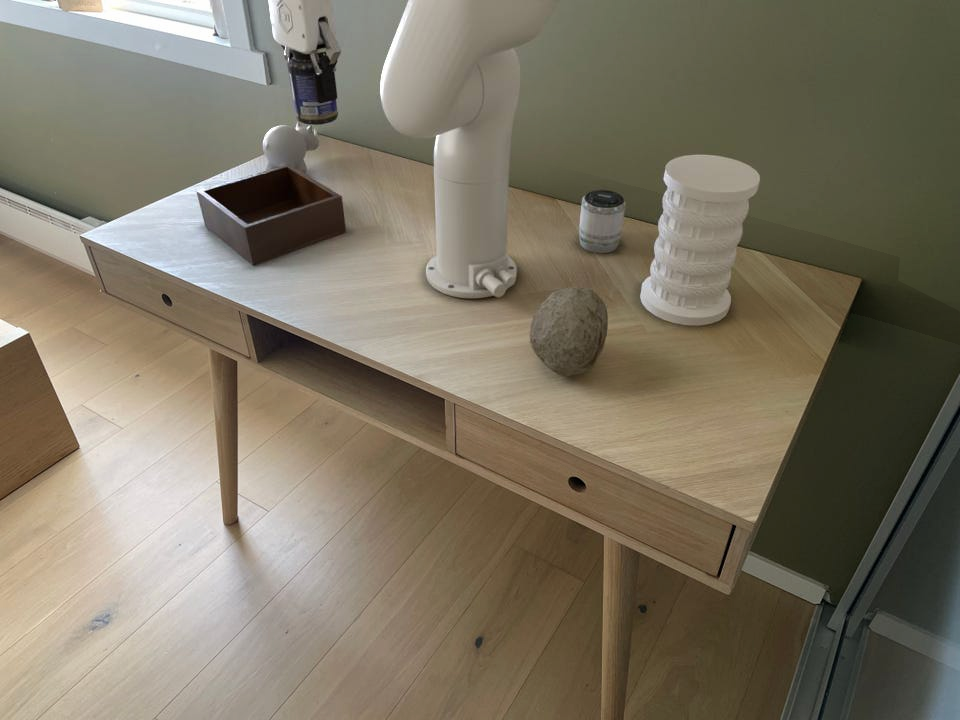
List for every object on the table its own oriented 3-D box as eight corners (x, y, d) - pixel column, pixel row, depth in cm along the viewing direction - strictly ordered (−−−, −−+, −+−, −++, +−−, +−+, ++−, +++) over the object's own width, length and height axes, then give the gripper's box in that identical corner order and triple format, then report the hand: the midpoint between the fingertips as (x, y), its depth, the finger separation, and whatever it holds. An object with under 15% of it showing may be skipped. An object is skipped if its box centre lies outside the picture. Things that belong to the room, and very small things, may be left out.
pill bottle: (346, 118, 107) (338, 39, 100) (314, 129, 103) (303, 48, 97) (320, 109, 110) (309, 32, 103) (287, 119, 106) (275, 40, 100)
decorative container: (641, 321, 91) (664, 189, 80) (638, 274, 100) (659, 150, 89) (734, 329, 90) (771, 196, 79) (723, 281, 99) (755, 156, 88)
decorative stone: (548, 333, 89) (553, 263, 83) (613, 352, 86) (624, 281, 80) (513, 379, 82) (517, 306, 76) (583, 401, 79) (592, 328, 73)
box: (346, 232, 110) (342, 195, 106) (253, 266, 102) (244, 228, 98) (294, 198, 119) (289, 163, 115) (205, 227, 111) (196, 190, 107)
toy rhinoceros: (336, 163, 131) (330, 116, 125) (289, 186, 123) (281, 137, 117) (306, 154, 134) (300, 108, 128) (259, 176, 126) (250, 128, 120)
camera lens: (583, 231, 111) (588, 183, 106) (623, 238, 109) (630, 190, 104) (572, 250, 106) (577, 200, 101) (614, 257, 104) (622, 208, 99)
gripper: (237, -50, 97) (262, 87, 108) (304, -33, 87) (324, 116, 98) (287, -55, 101) (305, 77, 112) (356, -40, 91) (369, 104, 101)
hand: (314, 94), depth 104 cm, fingers closed on pill bottle, 6 cm apart
